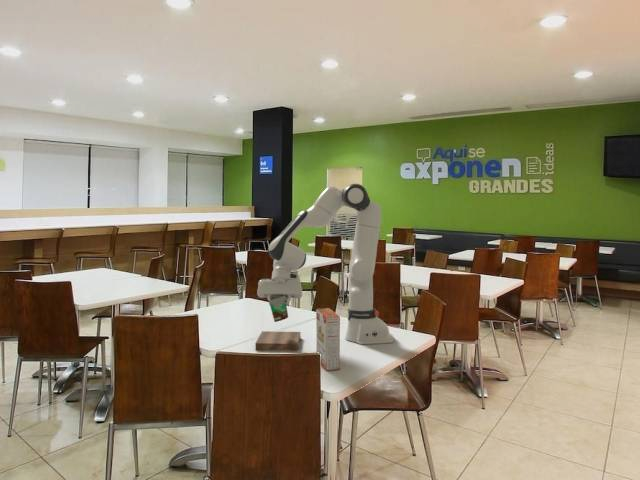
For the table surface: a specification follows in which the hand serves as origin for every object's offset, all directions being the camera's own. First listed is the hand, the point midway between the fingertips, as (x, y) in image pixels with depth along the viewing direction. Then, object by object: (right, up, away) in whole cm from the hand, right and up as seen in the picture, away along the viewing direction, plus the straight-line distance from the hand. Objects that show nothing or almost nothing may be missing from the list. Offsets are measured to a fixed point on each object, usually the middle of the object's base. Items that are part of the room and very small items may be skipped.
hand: (278, 304), depth 205 cm
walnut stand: (0, -18, +2) cm, 18 cm away
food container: (+2, -6, +1) cm, 7 cm away
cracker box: (+21, -20, -23) cm, 37 cm away
